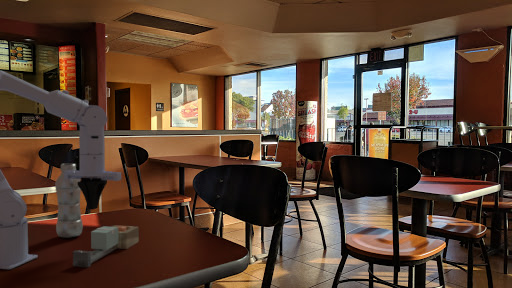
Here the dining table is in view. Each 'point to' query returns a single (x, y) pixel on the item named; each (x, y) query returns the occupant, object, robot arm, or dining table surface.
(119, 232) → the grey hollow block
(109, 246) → the block
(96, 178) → the robot arm
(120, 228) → the button
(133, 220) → the dining table surface
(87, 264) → the rail
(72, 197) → the plastic bottle
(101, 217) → the dining table surface
